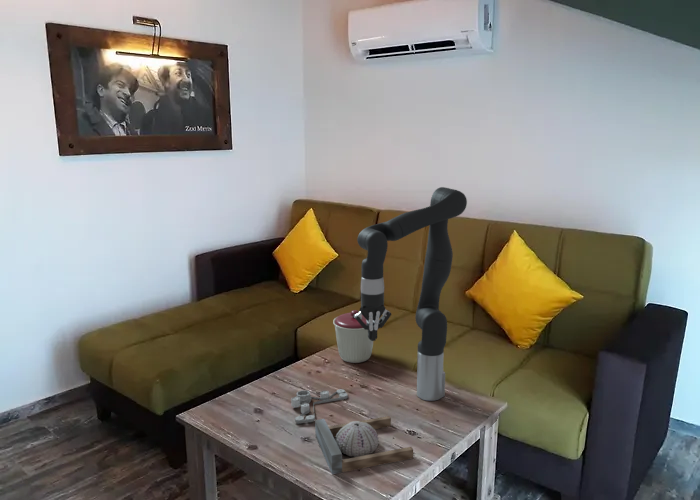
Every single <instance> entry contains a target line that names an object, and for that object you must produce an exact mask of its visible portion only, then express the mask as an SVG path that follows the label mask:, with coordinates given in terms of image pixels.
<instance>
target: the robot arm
mask: <svg viewBox="0 0 700 500" xmlns="http://www.w3.org/2000/svg"><path fill="white" fill-rule="evenodd" d="M429 204H430V205H429V206H427V207H423V208H418V209H415V210H411V211H407V212H404V213H401V214H399V215H397V216H395V217H393V218H391V219H389V220H386V221H383V222H380V223H377V224H373V225H370V226H367V227H365V228H363V229H362V230H361V231H360V232H359V234H358V236H357V239H356V241H357V244H358V245H359V247H360V248H361V249H363V250H365V251H367V256H366V258H364V259H362V262H361V279H360V308H359V311H358V313H357V314H354V318H355V319H356V320H357V321H358V322H359V323H360V325H361V326H362V327H363V328H364V329H365V330H368V338H369V339H370V340H371V341H373V342H375V341H376V340H377V339H378V330H379V329H382V328H383V327H384V326H385V325H386V323H387V322H388V321H389V319H390V318H391V316H392V312H391V311H389V310H388V309H386V307H385V282H384V279H385V278H384V263H385V260H386V256H387V251H388V247H389V245H388V244H389V243H388V242H389V241H390V242H395V241H399V240H400V239H403V238H405V237H407V236H409V235H411V234H412V233H415V232H417V231H419V230H421V229H423V228H426V227H428V226H429V228H428V236H427V245H426V252H425V256H424V257H425V258H424V264H423V265H424V266H423V275H422V280H421V281H422V282H421V290H420V295H419V300H418V303H417V307H416V312H415V318H414V319H415V323H416V325H417V327H419V328H420V330H421V340H420V341H418V343H417V362H416V363H417V365H416V366H417V367H416V370H417V371H416V396H417V397H418V398H419V399H421V400H423V401H429V402H431V401H432V402H434V401H438V400H440V399H442V398H443V397H445V393H446V372H445V370H444V355H445V352H444V351H445V350H444V349H445V347H446V344H447V333H448V320H447V317H446V314H444V313H443V312H442V311H441V310H440V298H441V297H440V296H441V293H442V289H443V287H444V286H445V284H446V283H447V281H448V279H449V276H450V274H451V272H452V271H451V269H452V264H453V254H454V252H453V248H452V243H451V240H450V236H449V229H448V223H449V220H451V219H452V218H456V217H458V216H460V215H462V214H463V212H465V210H466V208H467V204H468V199H467V196H466V195H465V193H463V192H462V191H460V190H458V189H454V188H449V187H444V186H441V187H438V188H436V189H435V190H434V191H433V193H432V195H431V198H430V202H429ZM362 315H363V316H364V318H365V319H366V322H367V325H366V324H365V323H364V322H363V321H362V320H361V319H362Z"/></svg>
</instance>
